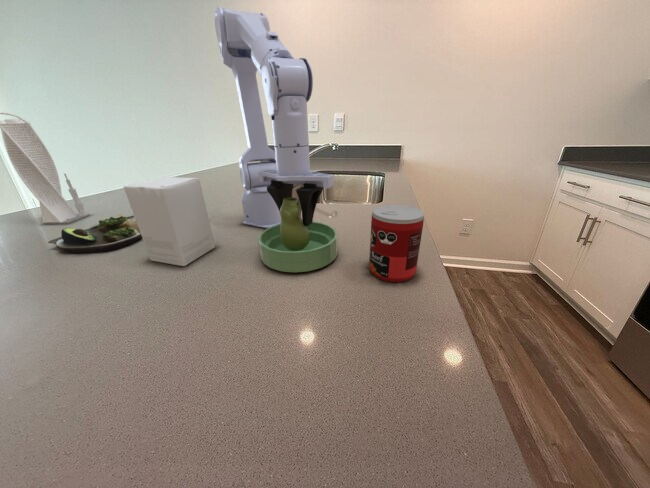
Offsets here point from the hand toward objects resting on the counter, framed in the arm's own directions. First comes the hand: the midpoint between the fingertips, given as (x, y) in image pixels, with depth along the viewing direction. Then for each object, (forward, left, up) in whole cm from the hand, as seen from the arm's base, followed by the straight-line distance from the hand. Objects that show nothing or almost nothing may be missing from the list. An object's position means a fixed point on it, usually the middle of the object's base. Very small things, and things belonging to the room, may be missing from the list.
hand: (297, 222), depth 49 cm
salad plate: (-46, -13, -7) cm, 48 cm away
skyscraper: (-74, -12, -7) cm, 75 cm away
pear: (+1, -2, -5) cm, 5 cm away
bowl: (0, 0, -7) cm, 7 cm away
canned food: (+18, +2, -7) cm, 19 cm away
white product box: (-22, -10, -7) cm, 25 cm away
